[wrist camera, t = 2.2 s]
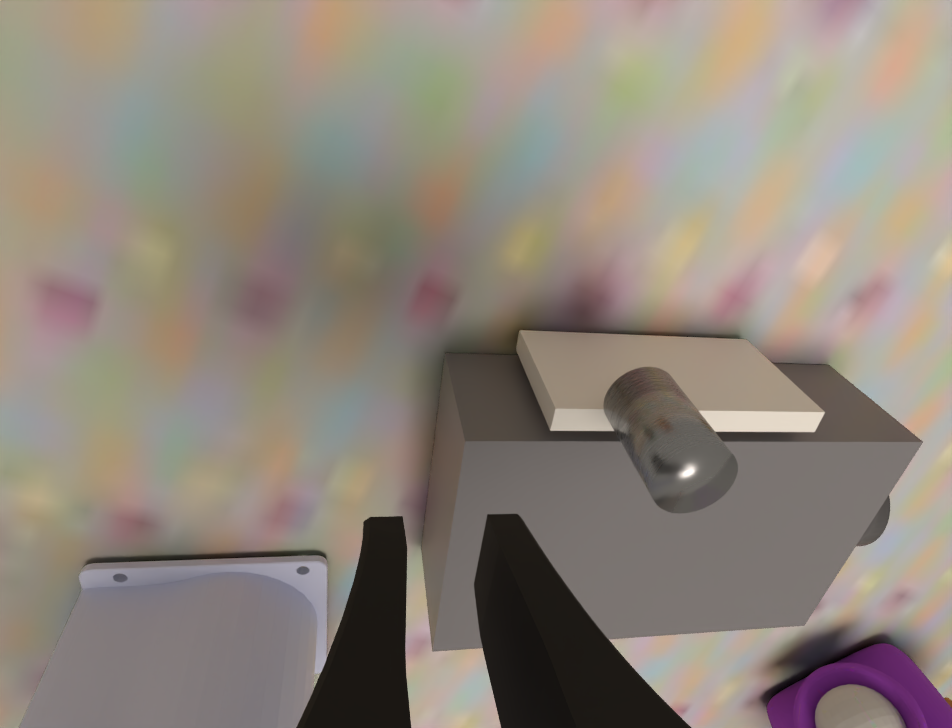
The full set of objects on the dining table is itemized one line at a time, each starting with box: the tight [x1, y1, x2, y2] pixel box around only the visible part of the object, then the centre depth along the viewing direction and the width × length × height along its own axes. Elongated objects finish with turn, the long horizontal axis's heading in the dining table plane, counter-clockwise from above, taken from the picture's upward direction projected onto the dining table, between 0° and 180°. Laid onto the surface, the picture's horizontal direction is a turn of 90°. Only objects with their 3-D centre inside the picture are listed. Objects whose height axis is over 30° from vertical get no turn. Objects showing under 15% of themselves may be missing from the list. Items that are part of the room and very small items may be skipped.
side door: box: [516, 330, 825, 513], centre depth 19 cm, size 9×2×8 cm, turn 82°
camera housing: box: [421, 353, 923, 652], centre depth 24 cm, size 18×10×5 cm, turn 82°
